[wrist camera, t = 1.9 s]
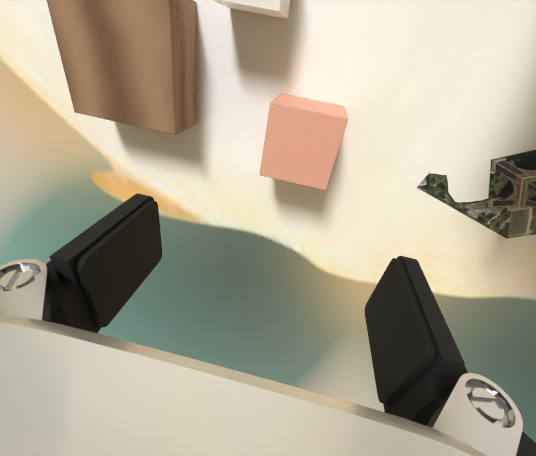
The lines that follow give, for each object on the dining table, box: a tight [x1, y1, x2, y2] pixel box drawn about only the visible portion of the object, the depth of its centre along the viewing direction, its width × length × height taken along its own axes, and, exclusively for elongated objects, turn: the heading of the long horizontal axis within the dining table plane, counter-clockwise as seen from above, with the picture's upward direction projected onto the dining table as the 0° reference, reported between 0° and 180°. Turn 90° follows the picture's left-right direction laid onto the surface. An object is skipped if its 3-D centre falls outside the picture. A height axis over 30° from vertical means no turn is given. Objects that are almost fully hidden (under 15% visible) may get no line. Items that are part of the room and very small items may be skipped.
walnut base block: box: [47, 0, 196, 135], centre depth 24 cm, size 10×10×5 cm
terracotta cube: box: [260, 93, 348, 190], centre depth 24 cm, size 6×6×6 cm
